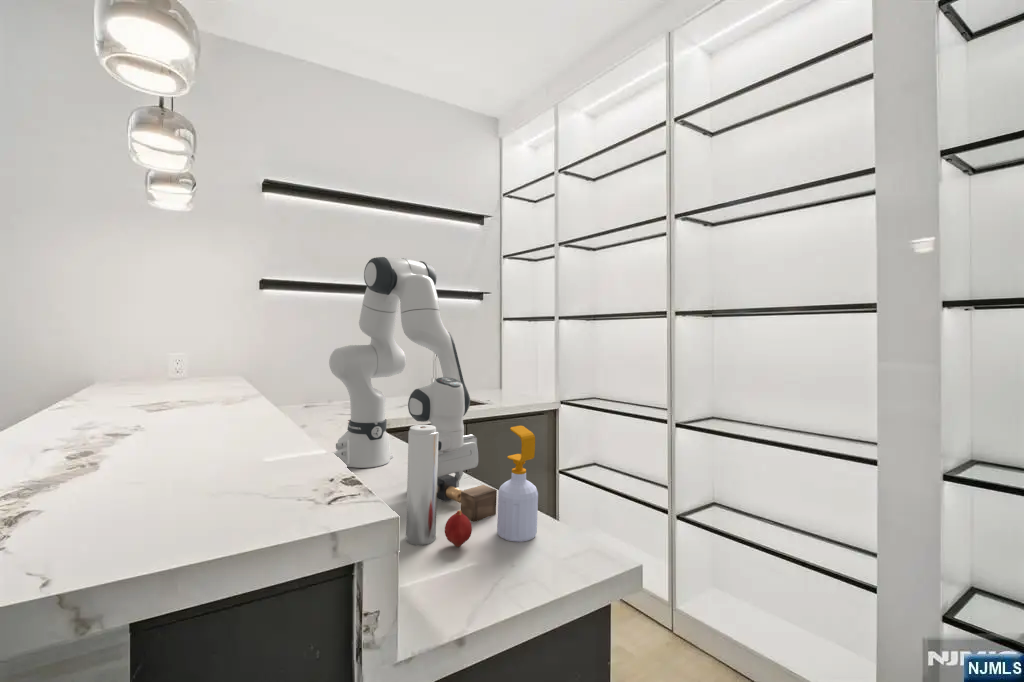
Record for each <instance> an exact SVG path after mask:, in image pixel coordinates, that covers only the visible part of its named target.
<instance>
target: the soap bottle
mask: <svg viewBox="0 0 1024 682" xmlns="http://www.w3.org/2000/svg"><path fill="white" fill-rule="evenodd" d="M509 430H510V431H511V432H512V433H514V434H515V435H517V437H519V439H520V442H521V449H520V450H521V451H520V453H516V454H511V455H508V456H507V459H508V460H511V461H513V464H515V467H514V468H511V478H510V479H507V481H505V482H504V483H502V484H501V485H500V487H499V489H498V491H497V493H498V497H497V525H496V526H497V528H496V531H497V532H496V533H497V535H498V536H499V537H500V538H502V539H504V540H506V541H509V542H514V543H515V542H518V543H521V542H527V541H530V540H532V539H534V538H535V537H536V535H537V532H538V531H537V530H538V510H539V509H538V507H539V506H538V505H539V491H538V489H537V487H536V485H534V483H532V482H531V481H529V480H527V469H526V468H524V465H525V464H526V461H530V460H533V459H534V458H535V453H536V436H535V434H534V433H533V431H531V430H530V429H528V428H527V427H525V426H524V425H516V426H511V427H510V428H509Z"/></svg>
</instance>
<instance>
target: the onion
mask: <svg viewBox="0 0 1024 682" xmlns="http://www.w3.org/2000/svg"><path fill="white" fill-rule="evenodd" d="M472 531H473V525H472V521H470V520H469V519H468V517H467V516H465V515H464V514H462V512H461V509H458V510H457V511H456V512H455V513H454V514H452V515H451V516H450V517H449V518H448V519H447V521H446V522H445V525H444V535H445V537H446V539H447V540H448V542H450V543H451V544H452V545H454V547H456V548H459V547H461V546H462V545H463V544H465V543H467V541H468V540H469V539H470V538H471V536H472Z"/></svg>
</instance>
